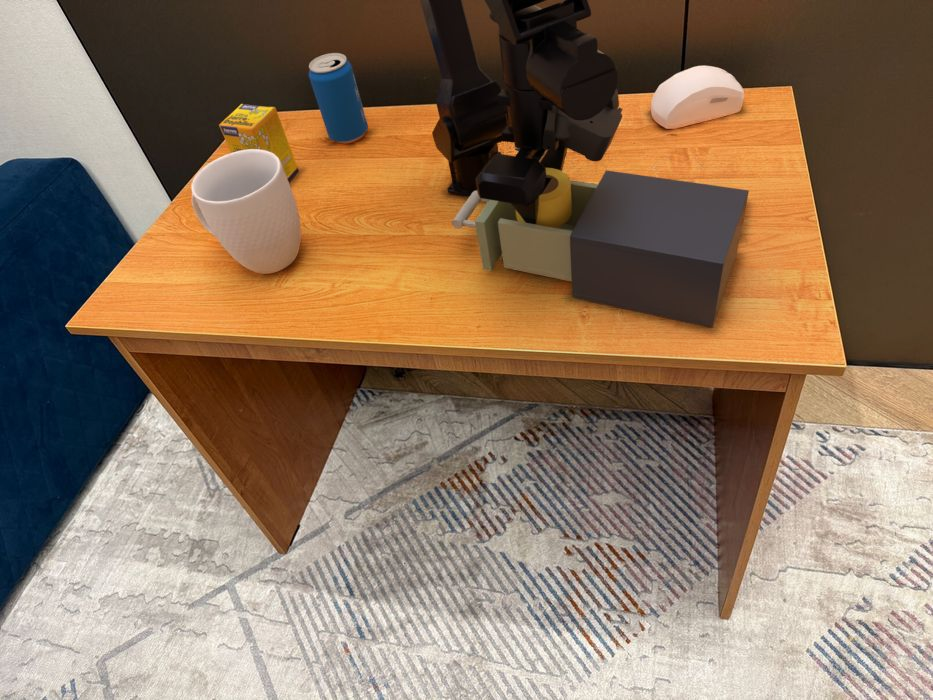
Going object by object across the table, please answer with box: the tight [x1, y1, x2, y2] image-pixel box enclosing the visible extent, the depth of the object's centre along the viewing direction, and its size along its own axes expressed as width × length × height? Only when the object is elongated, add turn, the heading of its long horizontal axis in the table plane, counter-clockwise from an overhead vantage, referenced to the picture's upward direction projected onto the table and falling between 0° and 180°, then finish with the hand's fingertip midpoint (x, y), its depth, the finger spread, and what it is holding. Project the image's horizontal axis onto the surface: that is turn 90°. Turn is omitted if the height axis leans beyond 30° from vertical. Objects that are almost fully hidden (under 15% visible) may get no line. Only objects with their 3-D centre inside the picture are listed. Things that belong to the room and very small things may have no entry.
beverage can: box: [308, 52, 369, 144], centre depth 106 cm, size 6×6×12 cm
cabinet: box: [570, 170, 750, 329], centre depth 76 cm, size 16×12×9 cm
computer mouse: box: [650, 65, 745, 130], centre depth 99 cm, size 6×13×6 cm, turn 102°
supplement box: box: [218, 103, 300, 183], centre depth 101 cm, size 6×6×11 cm
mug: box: [190, 149, 302, 275], centre depth 88 cm, size 15×11×13 cm
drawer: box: [451, 179, 599, 283], centre depth 82 cm, size 19×11×7 cm, turn 64°
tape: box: [515, 168, 572, 228], centre depth 79 cm, size 6×6×4 cm
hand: (542, 206), depth 79 cm, fingers closed on tape, 6 cm apart
